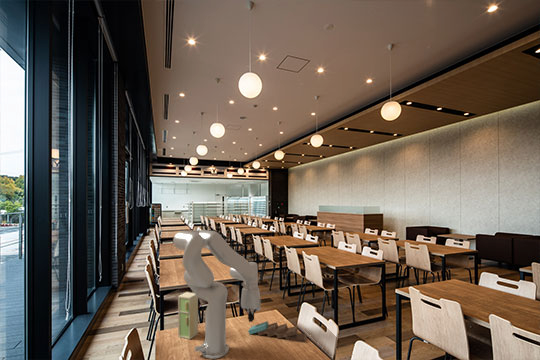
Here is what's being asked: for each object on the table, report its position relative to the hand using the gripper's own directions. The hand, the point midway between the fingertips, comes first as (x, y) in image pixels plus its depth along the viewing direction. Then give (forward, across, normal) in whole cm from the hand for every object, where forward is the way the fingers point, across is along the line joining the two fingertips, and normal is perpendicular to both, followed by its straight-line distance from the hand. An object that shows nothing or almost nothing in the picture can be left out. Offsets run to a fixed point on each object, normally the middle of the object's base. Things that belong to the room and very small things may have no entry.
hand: (251, 320), depth 144 cm
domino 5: (+6, +20, 0) cm, 20 cm away
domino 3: (+5, +10, 0) cm, 11 cm away
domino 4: (+5, +15, 0) cm, 16 cm away
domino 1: (+5, 0, 0) cm, 5 cm away
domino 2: (+5, +5, 0) cm, 7 cm away
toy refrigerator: (+6, -32, -11) cm, 34 cm away
